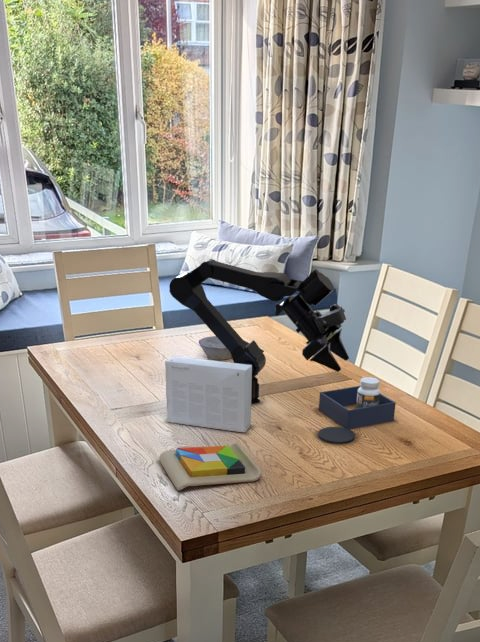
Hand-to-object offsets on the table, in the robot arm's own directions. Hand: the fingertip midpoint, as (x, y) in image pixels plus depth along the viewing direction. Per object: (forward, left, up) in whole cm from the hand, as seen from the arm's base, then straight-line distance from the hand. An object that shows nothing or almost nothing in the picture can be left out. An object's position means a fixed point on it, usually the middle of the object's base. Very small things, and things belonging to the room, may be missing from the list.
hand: (343, 364), depth 189 cm
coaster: (-9, -12, -13) cm, 20 cm away
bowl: (-10, +56, -13) cm, 59 cm away
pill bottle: (+5, -5, -13) cm, 15 cm away
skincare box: (-34, +7, -13) cm, 37 cm away
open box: (+3, -3, -13) cm, 14 cm away
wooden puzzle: (-44, -17, -13) cm, 49 cm away
